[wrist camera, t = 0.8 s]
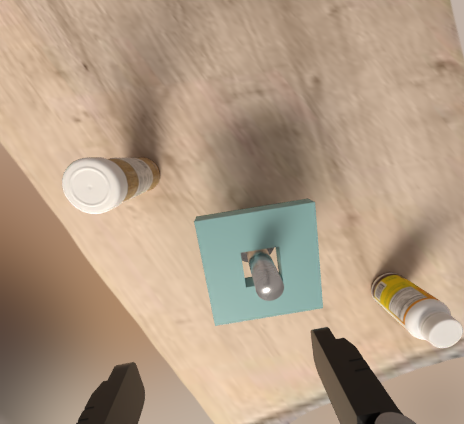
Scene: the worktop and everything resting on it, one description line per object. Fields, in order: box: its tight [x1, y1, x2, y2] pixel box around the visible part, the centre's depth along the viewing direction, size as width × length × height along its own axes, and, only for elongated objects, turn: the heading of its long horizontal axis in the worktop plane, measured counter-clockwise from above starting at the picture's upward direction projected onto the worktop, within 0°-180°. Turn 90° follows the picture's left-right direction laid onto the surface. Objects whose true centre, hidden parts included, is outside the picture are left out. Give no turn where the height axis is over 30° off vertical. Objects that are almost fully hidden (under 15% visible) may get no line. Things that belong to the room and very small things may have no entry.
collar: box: [194, 199, 323, 326], centre depth 26 cm, size 12×12×2 cm
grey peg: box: [241, 247, 284, 301], centre depth 28 cm, size 6×6×14 cm
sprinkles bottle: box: [62, 157, 160, 214], centre depth 25 cm, size 5×5×13 cm
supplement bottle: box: [371, 273, 463, 348], centre depth 32 cm, size 6×6×10 cm
